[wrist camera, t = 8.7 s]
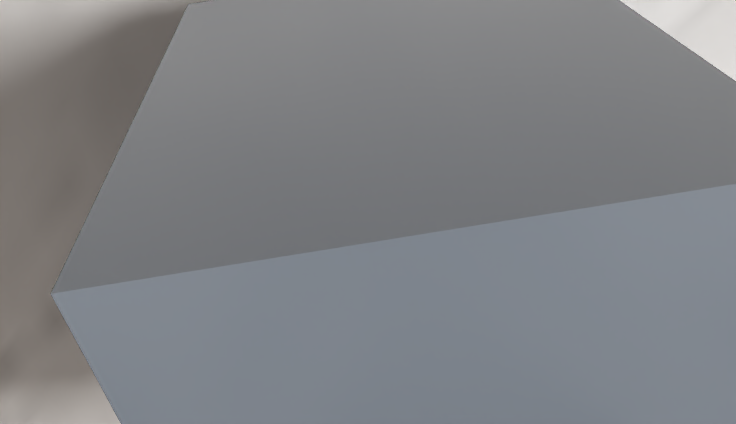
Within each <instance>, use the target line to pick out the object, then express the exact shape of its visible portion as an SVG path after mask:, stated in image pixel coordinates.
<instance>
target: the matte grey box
mask: <svg viewBox="0 0 736 424" xmlns="http://www.w3.org/2000/svg"><path fill="white" fill-rule="evenodd" d="M51 296H52V297H53V299H54V301H55V303H56V305H57V307H58V308H59V310H60V312H61V314H62V316H63V318H64V319H65V321H66V323H67V325H68V327H69V329H70V331H71V332H72V334H73V336H74V338H75V340H76V342H77V343H78V345H79V347H80V349H81V351H82V353H83V354H84V356H85V358H86V360H87V362H88V364H89V366H90V367H91V369H92V371H93V373H94V375H95V377H96V378H97V380H98V382H99V384H100V386H101V388H102V390H103V391H104V393H105V395H106V397H107V399H108V401H109V402H110V404H111V406H112V408H113V410H114V412H115V413H116V415H117V417H118V419H119V421H120V423H121V424H736V81H734V80H733V79H732V78H730V77H729V76H727V75H726V74H724V73H723V72H721V71H720V70H719V69H717V68H716V67H714V66H713V65H711V64H710V63H709V62H707V61H706V60H704V59H703V58H701V57H700V56H698V55H697V54H696V53H694V52H693V51H691V50H690V49H688V48H687V47H686V46H684V45H683V44H681V43H680V42H678V41H677V40H675V39H674V38H673V37H671V36H670V35H668V34H667V33H665V32H664V31H663V30H661V29H660V28H658V27H657V26H655V25H654V24H652V23H651V22H650V21H648V20H647V19H645V18H644V17H642V16H641V15H640V14H638V13H637V12H635V11H634V10H632V9H631V8H629V7H628V6H627V5H625V4H624V3H622V2H621V1H619V0H212V1H205V2H199V3H193V4H188V6H187V8H186V10H185V12H184V14H183V17H182V19H181V21H180V23H179V25H178V27H177V29H176V31H175V33H174V36H173V38H172V40H171V42H170V44H169V46H168V48H167V50H166V52H165V54H164V57H163V59H162V61H161V63H160V65H159V67H158V69H157V71H156V73H155V75H154V78H153V80H152V82H151V84H150V86H149V88H148V90H147V92H146V94H145V96H144V99H143V101H142V103H141V105H140V107H139V109H138V111H137V113H136V115H135V117H134V120H133V122H132V124H131V126H130V128H129V130H128V132H127V134H126V136H125V138H124V141H123V143H122V145H121V147H120V149H119V151H118V153H117V155H116V157H115V160H114V162H113V164H112V166H111V168H110V170H109V172H108V174H107V176H106V178H105V181H104V183H103V185H102V187H101V189H100V191H99V193H98V195H97V197H96V199H95V202H94V204H93V206H92V208H91V210H90V212H89V214H88V216H87V218H86V220H85V223H84V225H83V227H82V229H81V231H80V233H79V235H78V237H77V239H76V241H75V244H74V246H73V248H72V250H71V252H70V254H69V256H68V258H67V260H66V262H65V265H64V267H63V269H62V271H61V273H60V275H59V277H58V279H57V281H56V283H55V286H54V288H53V290H52V292H51Z"/></svg>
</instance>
